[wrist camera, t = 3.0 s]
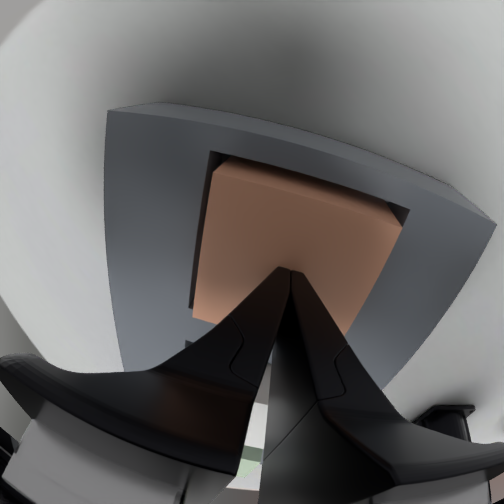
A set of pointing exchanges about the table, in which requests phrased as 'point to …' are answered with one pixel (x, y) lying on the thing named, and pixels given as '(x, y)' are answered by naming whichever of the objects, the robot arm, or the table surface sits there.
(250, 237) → the terracotta key
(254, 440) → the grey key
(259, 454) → the sage key
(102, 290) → the table surface
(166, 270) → the keypad console
